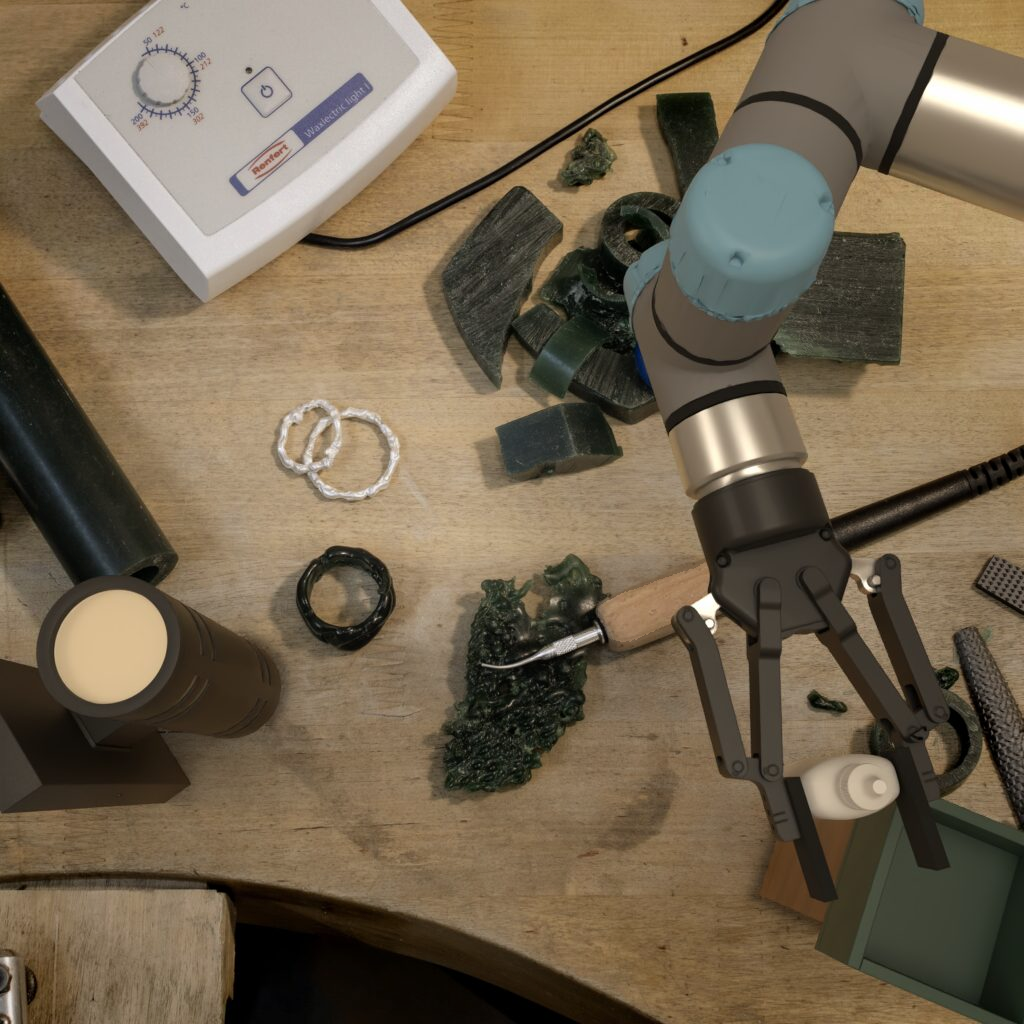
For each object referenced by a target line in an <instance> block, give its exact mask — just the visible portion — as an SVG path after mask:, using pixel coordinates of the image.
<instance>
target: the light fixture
mask: <svg viewBox="0 0 1024 1024" xmlns="http://www.w3.org/2000/svg"><path fill="white" fill-rule="evenodd" d="M35 658H36V666H37V667H36V666H32V665H28V664H24V663H20V662H17V661H16V662H15V661H12V660H9V659H8V660H7V659H4V658H0V813H1V814H2V815H4V814H5V815H6V814H20V813H21V814H22V813H33V812H34V813H35V812H49V811H65V810H79V809H83V810H84V809H95V808H96V809H97V808H113V807H127V806H129V807H130V806H141V805H142V806H143V805H156V804H157V805H159V804H166V803H167V802H168V801H170V800H171V799H172V798H174V797H175V796H177V795H178V794H180V793H182V792H183V791H185V789H187V788H188V787H190V786H191V785H192V783H191V781H190V779H189V778H188V776H187V775H186V772H185V771H184V769H183V768H182V767H181V765H180V763H179V761H178V760H177V759H176V757H175V755H174V753H173V752H172V750H171V749H170V747H169V745H168V744H167V742H166V740H165V739H164V738H163V736H162V734H161V733H160V731H159V729H163V730H164V729H165V730H169V731H175V732H181V733H187V734H194V735H199V736H200V735H201V736H206V737H212V738H217V739H226V740H228V739H229V740H231V739H239V738H244V737H246V736H249V735H251V734H253V733H255V732H256V731H258V730H260V729H261V728H262V727H263V726H264V725H265V724H266V723H267V722H268V721H269V720H270V719H271V717H272V716H273V715H274V714H275V711H276V709H277V707H278V706H279V702H280V698H281V693H282V680H281V674H280V671H279V668H278V666H277V664H276V662H275V661H274V660H273V658H272V657H271V656H270V654H269V653H268V652H267V651H265V650H264V649H263V648H262V647H260V646H258V645H256V644H255V643H253V642H251V641H250V640H248V639H246V638H244V637H243V636H241V635H239V634H237V633H235V632H234V631H232V630H231V629H229V628H227V627H225V626H224V625H222V624H221V623H218V622H217V621H215V620H213V619H212V618H209V617H208V616H206V615H205V614H203V613H201V612H199V611H198V610H196V609H194V608H192V607H191V606H189V605H187V604H185V603H184V602H182V601H180V600H179V599H177V598H175V597H173V596H171V595H170V594H168V593H167V592H165V591H162V589H159V588H157V587H156V586H155V585H153V584H151V583H149V582H147V581H145V580H143V579H141V578H139V577H134V576H131V575H125V574H106V575H101V576H100V575H98V576H95V577H92V578H89V579H87V580H84V581H82V582H79V583H78V584H76V585H74V586H73V587H71V588H70V589H68V590H67V591H66V592H65V593H63V594H62V595H61V596H60V597H59V598H58V599H57V600H56V601H55V602H54V604H53V605H52V606H51V607H50V609H49V610H48V612H47V613H46V615H45V617H44V619H43V621H42V624H41V626H40V628H39V632H38V634H37V639H36V647H35Z"/></svg>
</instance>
